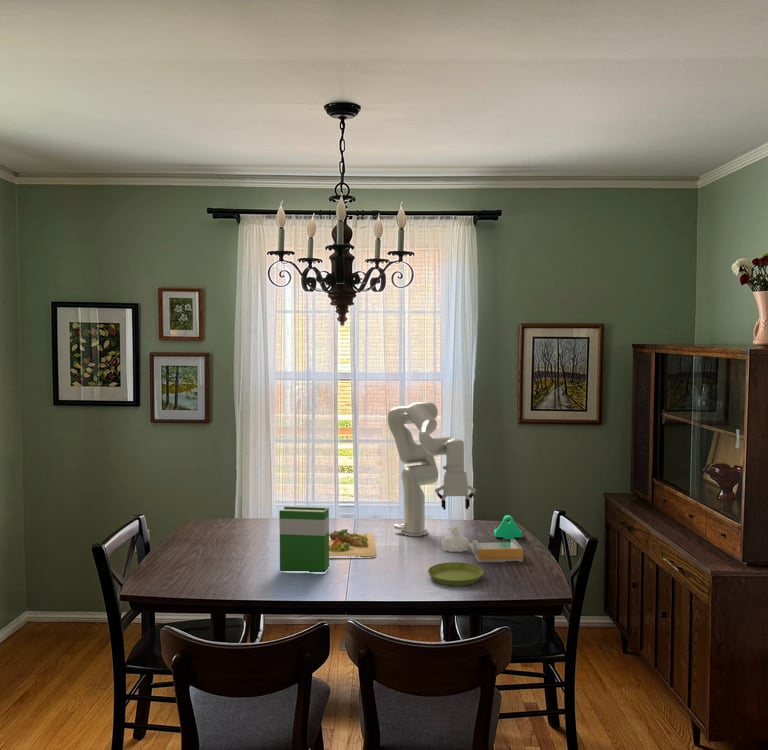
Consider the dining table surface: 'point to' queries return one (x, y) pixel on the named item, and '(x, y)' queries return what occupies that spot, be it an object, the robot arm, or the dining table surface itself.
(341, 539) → the cutting board
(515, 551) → the shallow tray
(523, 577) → the dining table surface
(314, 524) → the green cereal box
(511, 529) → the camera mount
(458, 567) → the saucer
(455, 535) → the bust
